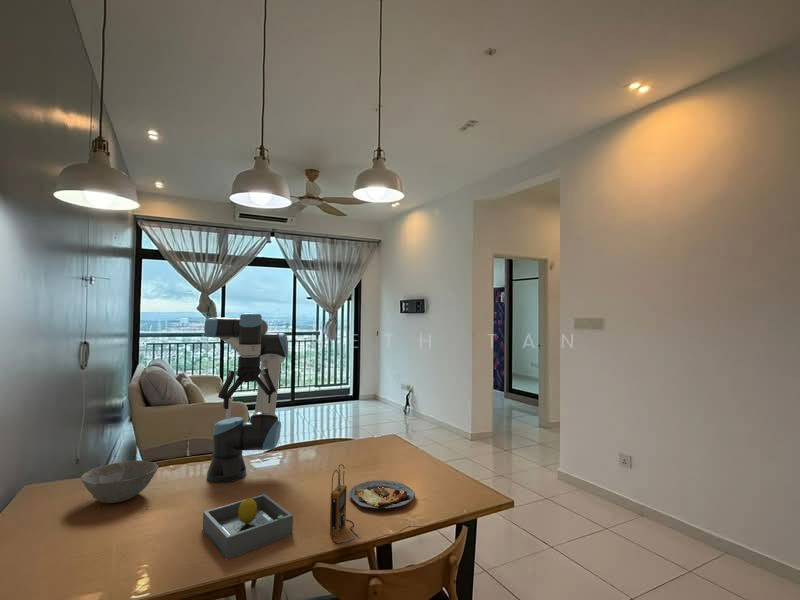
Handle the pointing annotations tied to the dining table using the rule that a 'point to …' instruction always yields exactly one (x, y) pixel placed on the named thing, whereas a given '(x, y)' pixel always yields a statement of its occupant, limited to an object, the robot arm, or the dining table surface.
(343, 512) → the multimeter
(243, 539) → the gray open box
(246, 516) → the lemon
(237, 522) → the gray picture frame
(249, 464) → the dining table surface
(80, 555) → the dining table surface
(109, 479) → the ceramic bowl
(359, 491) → the food plate
